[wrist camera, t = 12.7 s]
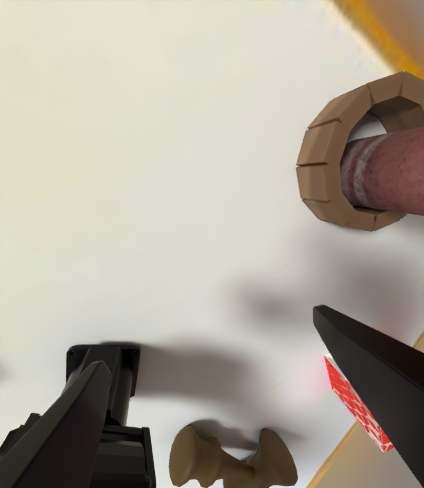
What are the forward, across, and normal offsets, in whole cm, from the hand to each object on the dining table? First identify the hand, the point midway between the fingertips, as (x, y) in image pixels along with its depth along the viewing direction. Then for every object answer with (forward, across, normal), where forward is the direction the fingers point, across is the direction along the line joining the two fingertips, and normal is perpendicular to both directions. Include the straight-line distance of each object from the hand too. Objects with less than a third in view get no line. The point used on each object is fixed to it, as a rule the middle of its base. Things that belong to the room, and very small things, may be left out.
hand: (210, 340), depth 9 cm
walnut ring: (+14, -17, -3) cm, 22 cm away
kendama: (+10, +3, +32) cm, 33 cm away
